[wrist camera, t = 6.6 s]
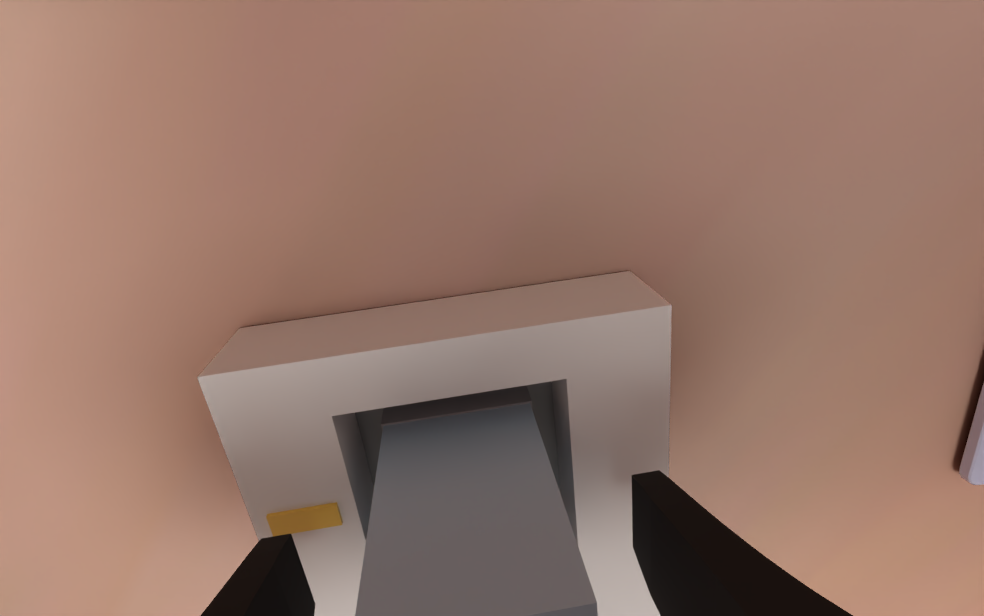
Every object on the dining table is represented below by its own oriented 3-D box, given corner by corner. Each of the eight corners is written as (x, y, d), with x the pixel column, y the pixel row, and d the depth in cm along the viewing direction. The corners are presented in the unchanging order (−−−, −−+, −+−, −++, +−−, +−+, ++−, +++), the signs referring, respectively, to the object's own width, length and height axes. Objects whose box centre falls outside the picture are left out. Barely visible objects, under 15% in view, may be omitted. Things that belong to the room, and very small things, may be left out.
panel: (629, 270, 13) (673, 306, 11) (636, 673, 19) (665, 753, 17) (239, 328, 13) (194, 379, 10) (369, 725, 19) (361, 816, 16)
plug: (525, 380, 14) (600, 599, 8) (535, 491, 15) (606, 751, 9) (384, 402, 13) (345, 645, 7) (408, 513, 15) (393, 794, 9)
